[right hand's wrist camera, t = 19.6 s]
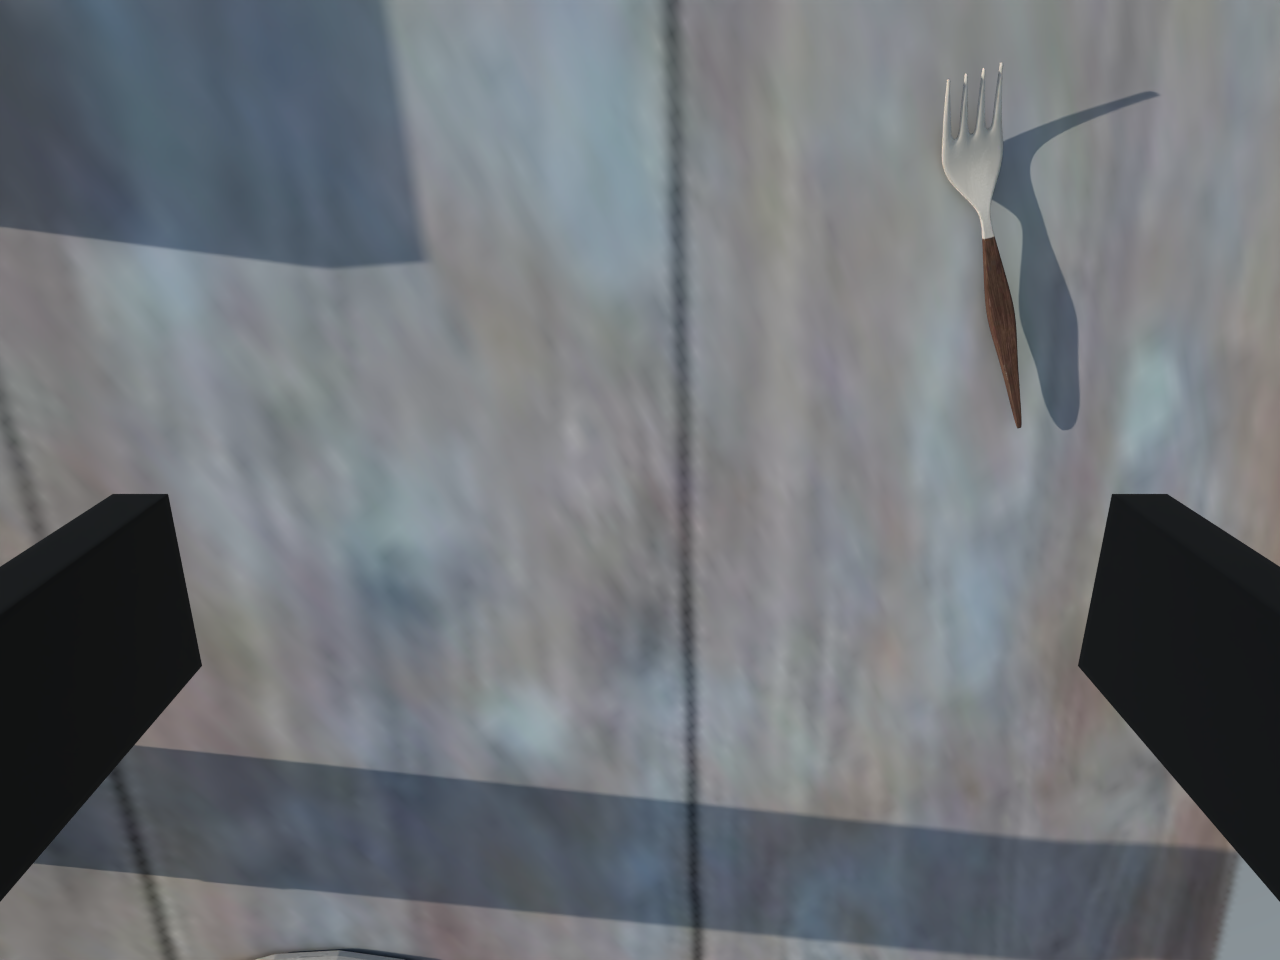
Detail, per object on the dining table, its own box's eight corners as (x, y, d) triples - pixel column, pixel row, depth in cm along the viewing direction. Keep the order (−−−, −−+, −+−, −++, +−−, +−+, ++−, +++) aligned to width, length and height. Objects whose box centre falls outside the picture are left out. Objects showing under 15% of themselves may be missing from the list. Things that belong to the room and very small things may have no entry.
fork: (987, 432, 42) (1003, 445, 41) (927, 84, 37) (942, 80, 35) (1041, 417, 42) (1060, 429, 40) (989, 64, 37) (1008, 60, 35)
